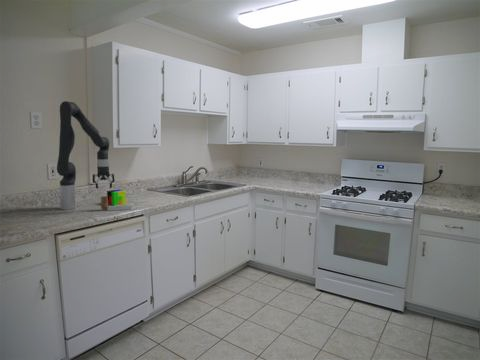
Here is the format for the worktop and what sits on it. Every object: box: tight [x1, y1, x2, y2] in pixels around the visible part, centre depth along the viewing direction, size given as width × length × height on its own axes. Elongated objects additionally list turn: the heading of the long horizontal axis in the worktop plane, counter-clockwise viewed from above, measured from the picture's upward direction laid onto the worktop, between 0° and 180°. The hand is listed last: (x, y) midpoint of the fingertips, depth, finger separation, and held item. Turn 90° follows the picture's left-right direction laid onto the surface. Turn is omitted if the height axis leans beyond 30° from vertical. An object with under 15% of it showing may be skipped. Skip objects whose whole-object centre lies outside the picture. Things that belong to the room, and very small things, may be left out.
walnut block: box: [100, 195, 109, 212], centre depth 232 cm, size 4×4×10 cm
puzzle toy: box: [106, 189, 127, 207], centre depth 254 cm, size 10×10×10 cm
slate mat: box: [106, 205, 132, 212], centre depth 238 cm, size 16×12×1 cm
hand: (104, 188), depth 230 cm, fingers open, 8 cm apart
